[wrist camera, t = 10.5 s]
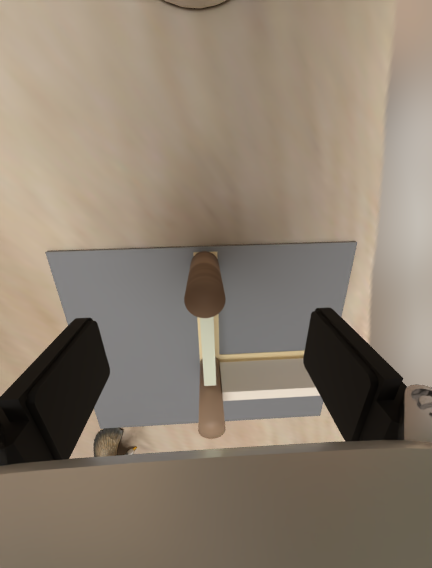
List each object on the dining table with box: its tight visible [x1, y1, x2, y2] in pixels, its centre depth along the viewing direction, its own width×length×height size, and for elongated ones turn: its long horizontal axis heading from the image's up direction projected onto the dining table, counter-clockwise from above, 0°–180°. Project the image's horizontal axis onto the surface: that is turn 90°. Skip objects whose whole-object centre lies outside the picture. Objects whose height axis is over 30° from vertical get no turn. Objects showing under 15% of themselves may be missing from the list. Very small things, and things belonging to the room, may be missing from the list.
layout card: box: [45, 241, 357, 429], centre depth 27 cm, size 25×31×1 cm
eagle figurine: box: [94, 428, 137, 457], centre depth 31 cm, size 8×7×9 cm
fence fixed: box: [198, 357, 320, 439], centre depth 24 cm, size 16×2×8 cm, turn 91°
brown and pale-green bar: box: [184, 251, 226, 386], centre depth 21 cm, size 13×3×8 cm, turn 2°
